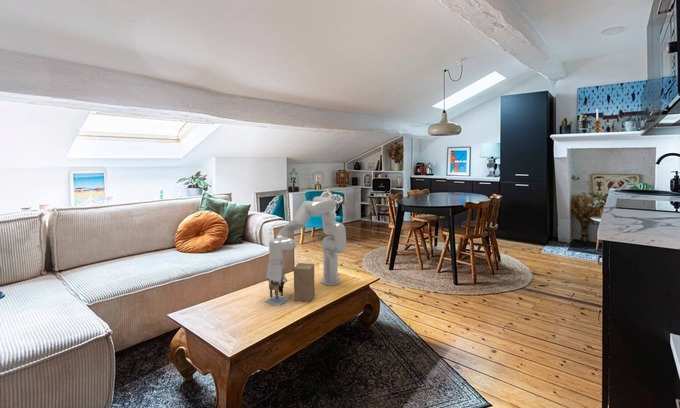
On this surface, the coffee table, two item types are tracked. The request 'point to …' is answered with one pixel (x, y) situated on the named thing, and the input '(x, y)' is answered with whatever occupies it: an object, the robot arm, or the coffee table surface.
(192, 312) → the coffee table surface
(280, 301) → the mat
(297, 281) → the wooden block
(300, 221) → the robot arm
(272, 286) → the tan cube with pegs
